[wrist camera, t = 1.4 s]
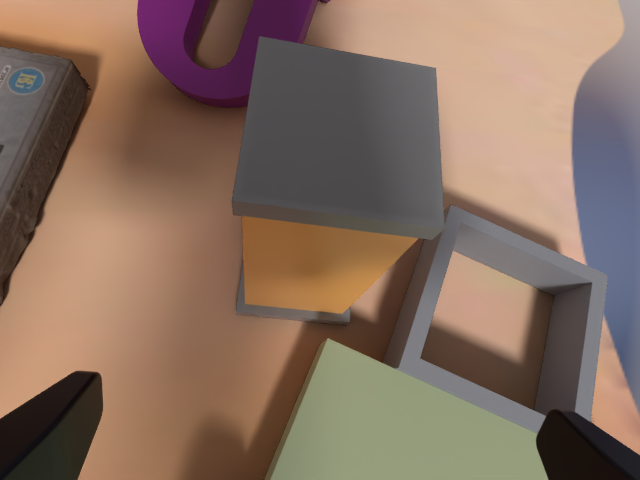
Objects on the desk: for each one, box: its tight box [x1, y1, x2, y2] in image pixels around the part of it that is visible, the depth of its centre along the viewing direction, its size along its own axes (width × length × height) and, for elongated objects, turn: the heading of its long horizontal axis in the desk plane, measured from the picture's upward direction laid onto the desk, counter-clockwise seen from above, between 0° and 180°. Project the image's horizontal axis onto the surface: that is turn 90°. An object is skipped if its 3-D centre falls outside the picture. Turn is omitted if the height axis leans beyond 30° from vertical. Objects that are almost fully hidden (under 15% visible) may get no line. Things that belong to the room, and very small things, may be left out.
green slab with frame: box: [264, 205, 608, 480], centre depth 19 cm, size 22×19×4 cm
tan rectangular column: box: [232, 36, 445, 325], centre depth 17 cm, size 6×6×12 cm
